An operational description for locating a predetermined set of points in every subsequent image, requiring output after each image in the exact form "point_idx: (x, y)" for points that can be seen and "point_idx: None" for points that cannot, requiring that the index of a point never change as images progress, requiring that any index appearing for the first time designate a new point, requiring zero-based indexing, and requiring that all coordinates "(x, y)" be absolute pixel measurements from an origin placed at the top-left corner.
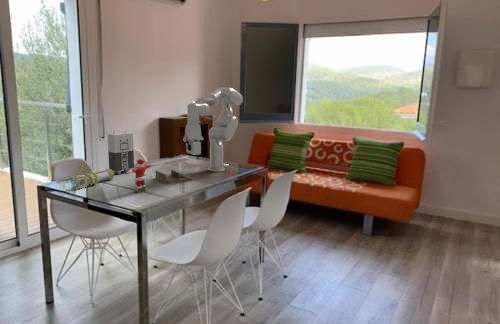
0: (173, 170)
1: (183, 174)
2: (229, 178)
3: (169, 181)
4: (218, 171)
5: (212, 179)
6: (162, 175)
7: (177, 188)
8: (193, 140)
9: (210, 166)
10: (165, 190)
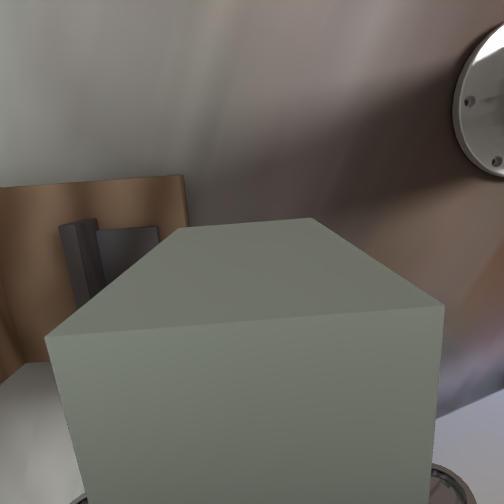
0: (76, 243)
1: (181, 225)
2: (446, 381)
3: (48, 357)
4: (501, 176)
5: None
6: None
7: (78, 468)
8: (400, 421)
9: (499, 88)
10: (10, 480)
